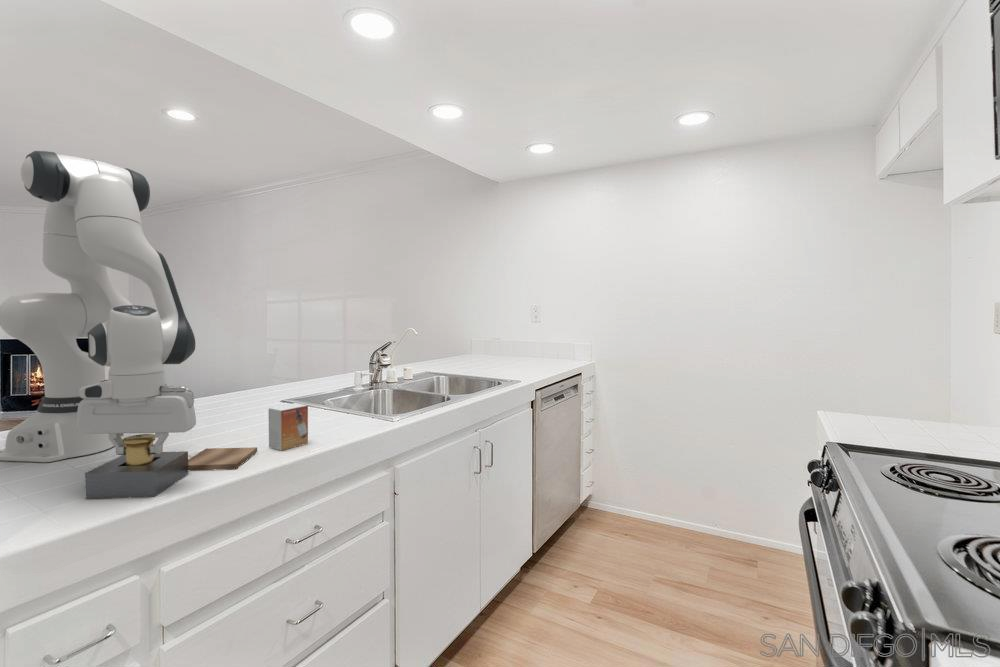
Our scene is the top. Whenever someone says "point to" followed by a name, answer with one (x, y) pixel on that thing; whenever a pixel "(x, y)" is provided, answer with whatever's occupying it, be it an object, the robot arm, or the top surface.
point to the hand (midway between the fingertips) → (139, 453)
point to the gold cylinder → (139, 449)
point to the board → (220, 458)
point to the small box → (288, 426)
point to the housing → (136, 477)
